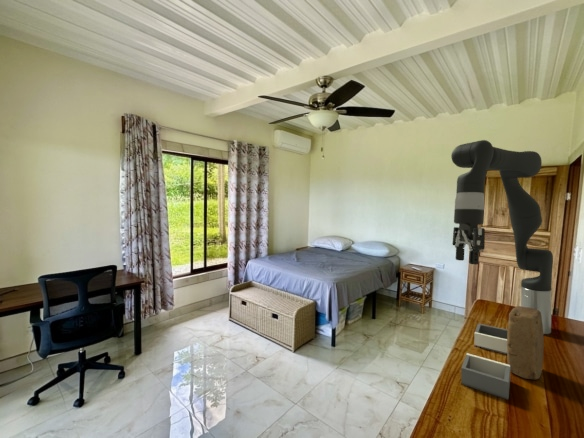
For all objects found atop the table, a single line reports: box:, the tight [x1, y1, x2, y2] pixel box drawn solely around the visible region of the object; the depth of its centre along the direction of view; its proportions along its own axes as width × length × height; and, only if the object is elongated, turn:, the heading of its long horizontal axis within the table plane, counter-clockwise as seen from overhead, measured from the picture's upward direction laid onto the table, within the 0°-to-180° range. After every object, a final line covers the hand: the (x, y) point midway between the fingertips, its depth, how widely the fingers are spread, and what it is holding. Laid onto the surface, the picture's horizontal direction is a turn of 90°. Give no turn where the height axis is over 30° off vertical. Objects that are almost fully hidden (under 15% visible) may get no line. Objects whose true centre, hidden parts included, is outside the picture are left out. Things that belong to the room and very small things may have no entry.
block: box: [506, 305, 545, 380], centre depth 86 cm, size 11×8×20 cm
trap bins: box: [460, 323, 511, 401], centre depth 92 cm, size 37×11×5 cm, turn 140°
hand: (466, 262), depth 83 cm, fingers open, 8 cm apart
